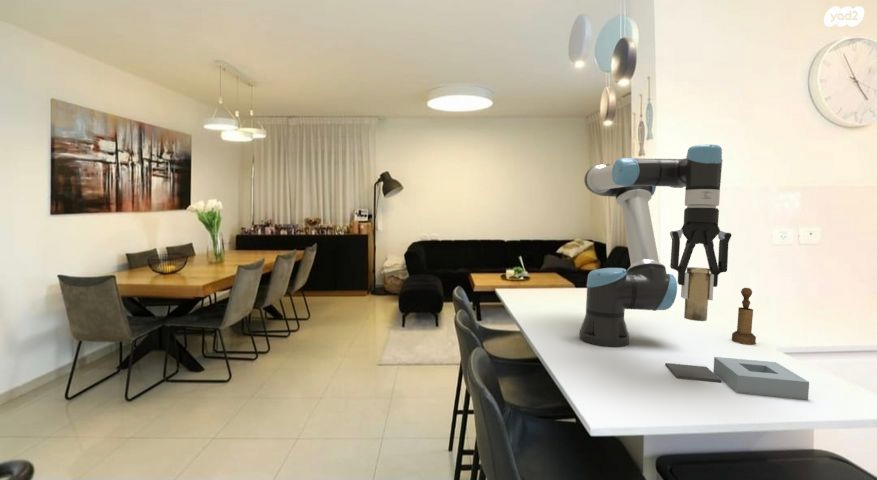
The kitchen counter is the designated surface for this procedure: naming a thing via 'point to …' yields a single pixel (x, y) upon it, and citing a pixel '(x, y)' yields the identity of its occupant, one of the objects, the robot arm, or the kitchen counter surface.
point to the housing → (761, 378)
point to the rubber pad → (692, 372)
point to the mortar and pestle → (744, 321)
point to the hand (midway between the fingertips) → (696, 298)
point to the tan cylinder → (697, 294)
